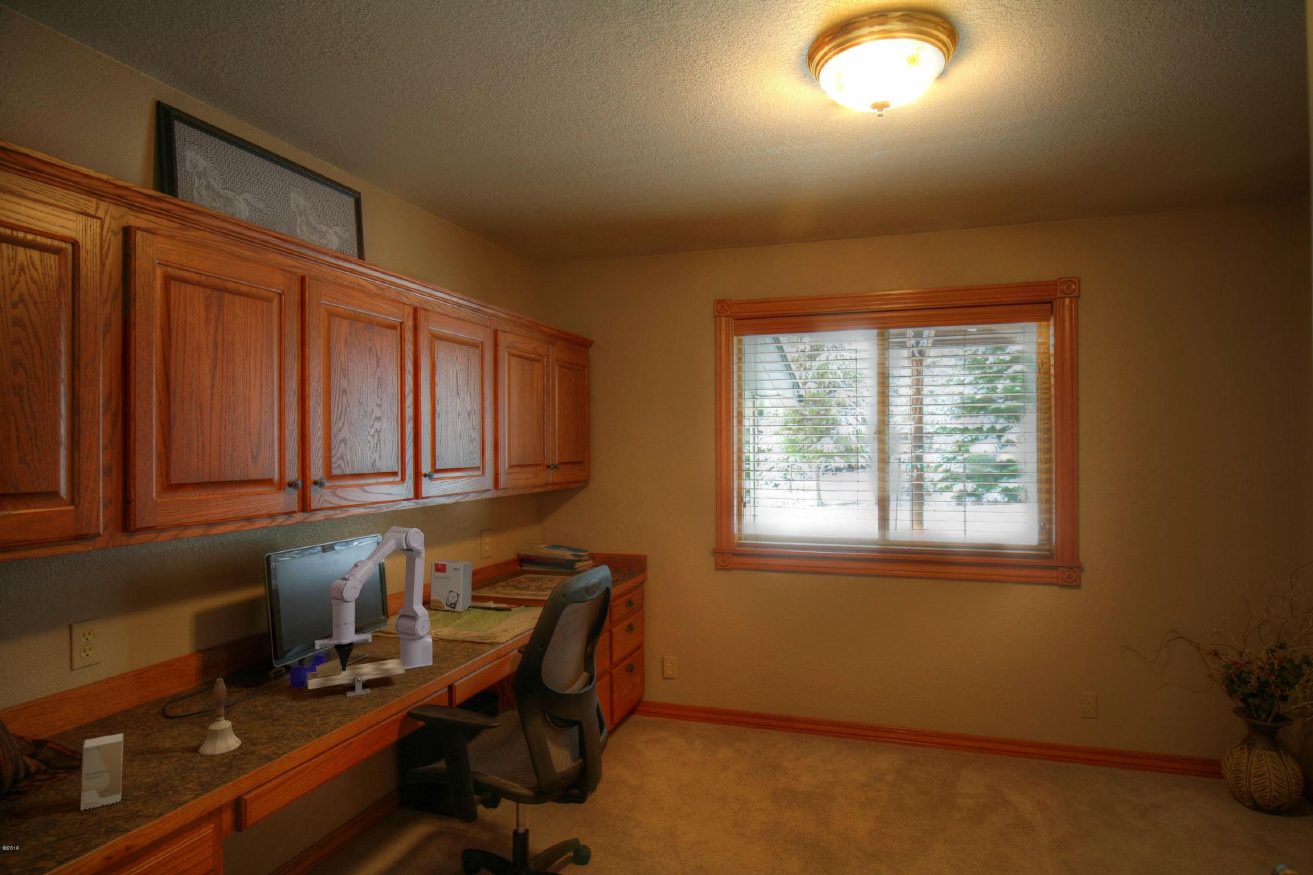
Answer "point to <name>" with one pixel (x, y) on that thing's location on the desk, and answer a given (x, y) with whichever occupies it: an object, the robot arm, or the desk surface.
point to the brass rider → (329, 669)
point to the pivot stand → (357, 687)
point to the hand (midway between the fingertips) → (343, 670)
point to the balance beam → (357, 673)
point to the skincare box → (102, 771)
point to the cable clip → (304, 671)
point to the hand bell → (219, 727)
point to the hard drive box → (451, 584)
